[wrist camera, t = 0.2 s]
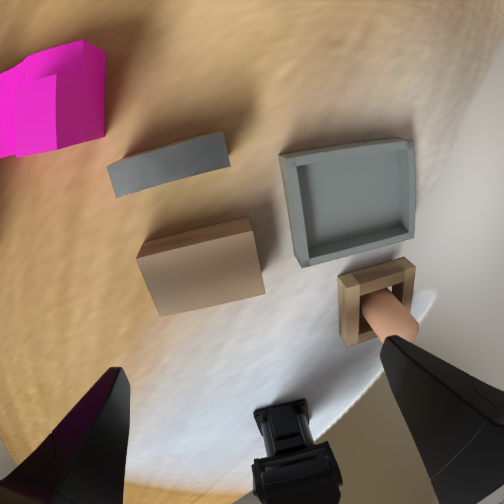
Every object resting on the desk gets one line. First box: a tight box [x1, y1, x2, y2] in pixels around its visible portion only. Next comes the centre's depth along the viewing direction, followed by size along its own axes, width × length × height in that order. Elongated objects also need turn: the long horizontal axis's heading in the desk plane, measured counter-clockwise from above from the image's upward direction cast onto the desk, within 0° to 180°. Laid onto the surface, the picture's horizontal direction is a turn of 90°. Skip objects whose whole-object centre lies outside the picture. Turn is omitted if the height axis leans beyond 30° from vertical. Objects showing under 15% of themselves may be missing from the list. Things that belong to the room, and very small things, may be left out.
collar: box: [338, 257, 416, 347], centre depth 26 cm, size 7×7×2 cm
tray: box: [278, 138, 415, 268], centre depth 21 cm, size 8×10×2 cm
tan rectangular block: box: [136, 217, 266, 317], centre depth 22 cm, size 5×8×3 cm, turn 101°
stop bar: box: [107, 130, 230, 198], centre depth 17 cm, size 2×7×4 cm, turn 101°
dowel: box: [359, 287, 419, 344], centre depth 24 cm, size 3×3×6 cm
